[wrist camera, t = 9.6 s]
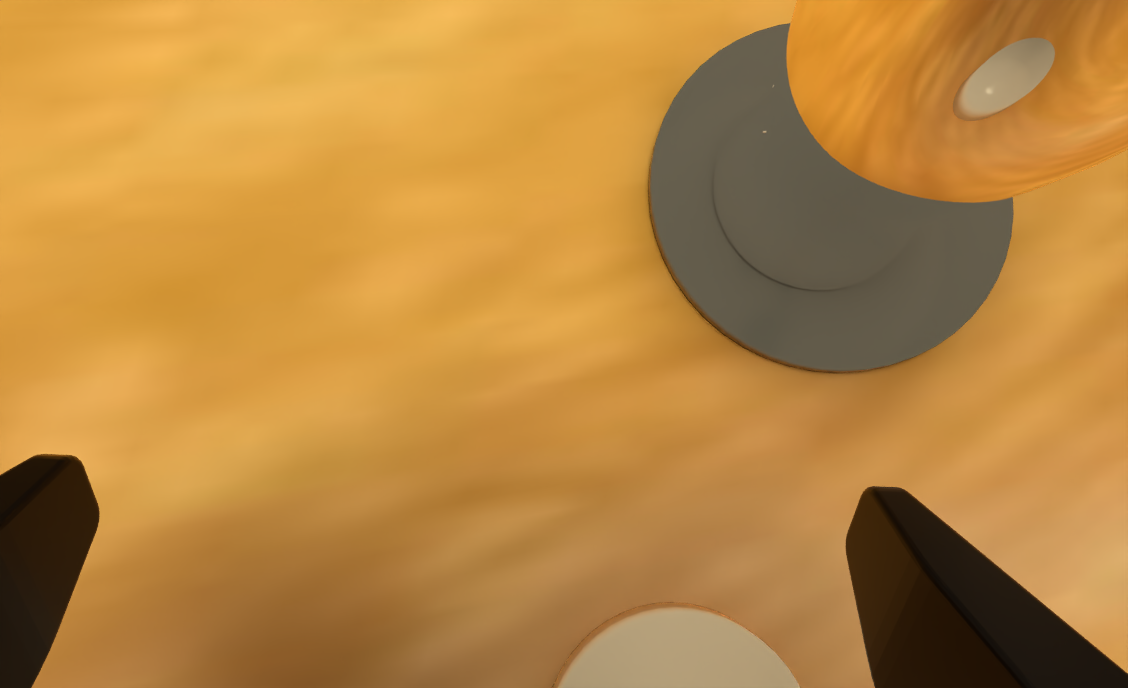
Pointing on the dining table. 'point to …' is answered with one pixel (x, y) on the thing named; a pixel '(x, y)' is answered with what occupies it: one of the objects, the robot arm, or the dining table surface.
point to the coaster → (787, 314)
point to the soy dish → (673, 653)
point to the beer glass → (915, 125)
